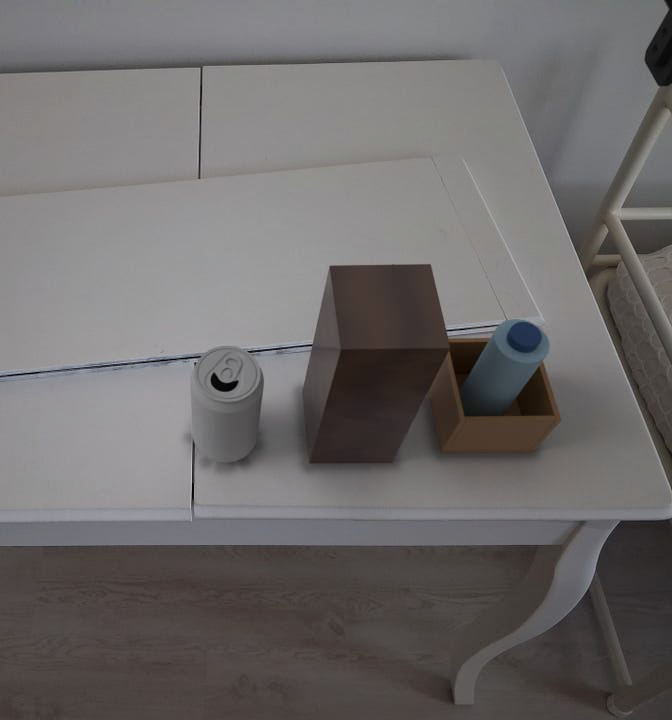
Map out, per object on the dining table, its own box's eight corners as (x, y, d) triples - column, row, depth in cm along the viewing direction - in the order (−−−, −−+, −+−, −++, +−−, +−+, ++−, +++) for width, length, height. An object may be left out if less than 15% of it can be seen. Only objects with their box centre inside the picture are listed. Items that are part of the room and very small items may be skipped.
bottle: (504, 395, 73) (556, 320, 62) (498, 434, 70) (552, 363, 59) (458, 382, 74) (501, 306, 63) (450, 420, 71) (494, 347, 60)
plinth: (380, 391, 74) (430, 263, 57) (392, 462, 69) (450, 348, 53) (302, 392, 74) (329, 265, 57) (309, 463, 70) (340, 349, 53)
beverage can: (182, 452, 70) (178, 391, 60) (206, 399, 74) (206, 332, 64) (244, 475, 69) (250, 415, 59) (265, 419, 72) (275, 354, 62)
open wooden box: (511, 372, 75) (535, 336, 69) (534, 451, 70) (561, 420, 64) (424, 373, 75) (441, 338, 69) (440, 452, 70) (460, 421, 64)
